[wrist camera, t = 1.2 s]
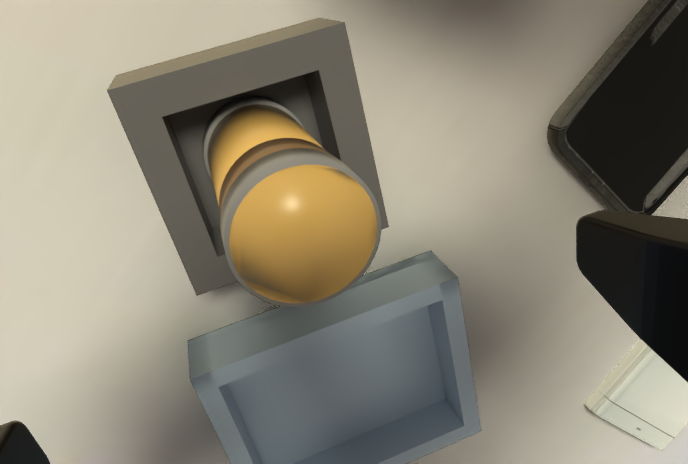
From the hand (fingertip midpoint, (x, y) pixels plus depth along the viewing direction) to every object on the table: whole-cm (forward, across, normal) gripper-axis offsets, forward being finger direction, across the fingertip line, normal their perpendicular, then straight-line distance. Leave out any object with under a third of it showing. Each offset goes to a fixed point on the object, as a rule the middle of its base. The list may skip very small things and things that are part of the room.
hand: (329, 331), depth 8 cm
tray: (+12, -1, +12) cm, 17 cm away
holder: (+12, 0, 0) cm, 13 cm away
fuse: (+12, 0, 0) cm, 12 cm away
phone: (+13, -20, +2) cm, 24 cm away
